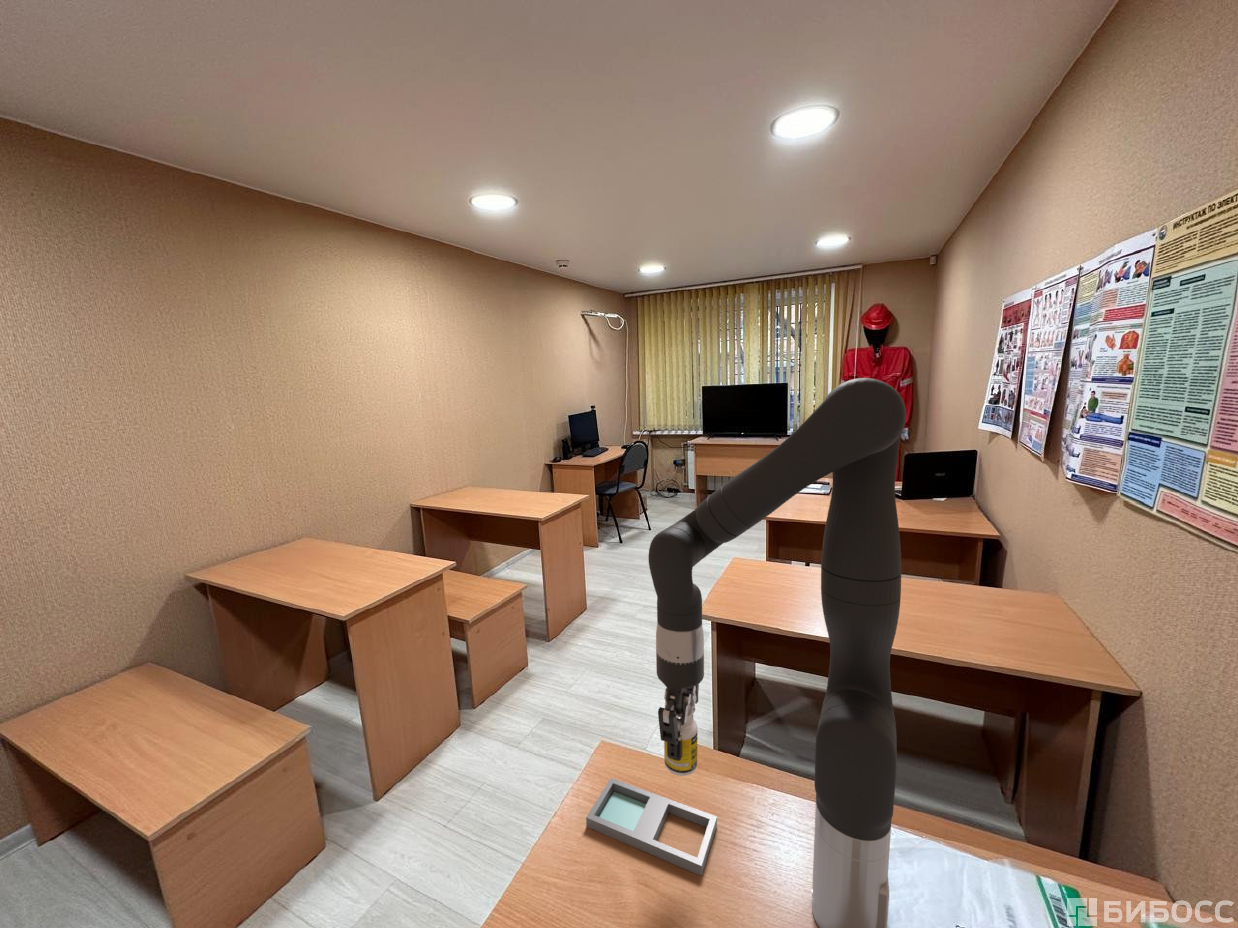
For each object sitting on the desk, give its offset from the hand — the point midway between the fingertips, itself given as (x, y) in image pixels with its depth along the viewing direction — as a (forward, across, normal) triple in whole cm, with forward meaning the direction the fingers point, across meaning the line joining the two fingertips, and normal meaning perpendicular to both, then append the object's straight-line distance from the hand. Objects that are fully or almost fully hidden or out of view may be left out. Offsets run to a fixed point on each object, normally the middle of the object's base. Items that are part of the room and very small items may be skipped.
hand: (680, 744), depth 77 cm
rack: (+17, 0, +6) cm, 18 cm away
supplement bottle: (+4, 0, 0) cm, 4 cm away
